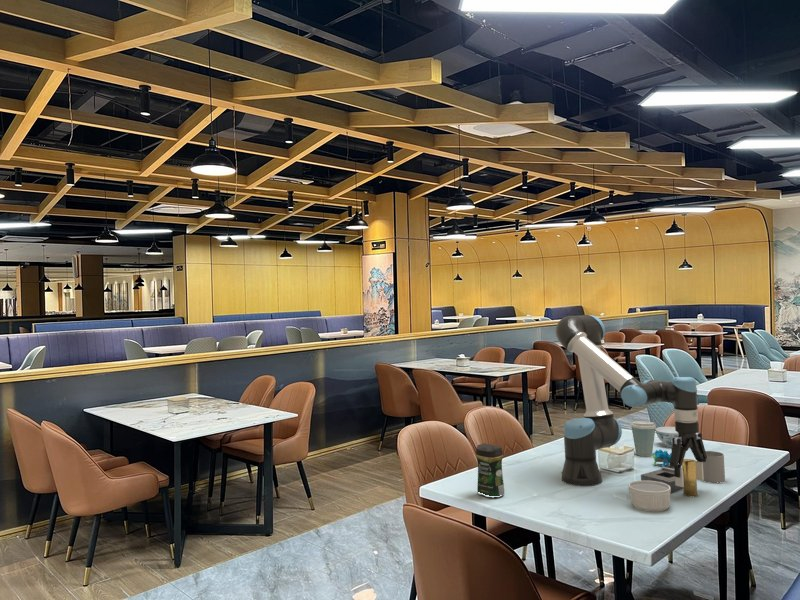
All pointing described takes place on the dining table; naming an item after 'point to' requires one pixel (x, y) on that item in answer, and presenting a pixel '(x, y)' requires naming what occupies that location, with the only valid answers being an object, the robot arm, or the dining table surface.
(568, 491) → the dining table surface
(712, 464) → the cup
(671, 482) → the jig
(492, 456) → the coffee jar
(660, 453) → the gear
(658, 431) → the chinaware
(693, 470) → the brass cylinder peg
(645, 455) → the disposable coffee cup
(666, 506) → the ramekin
